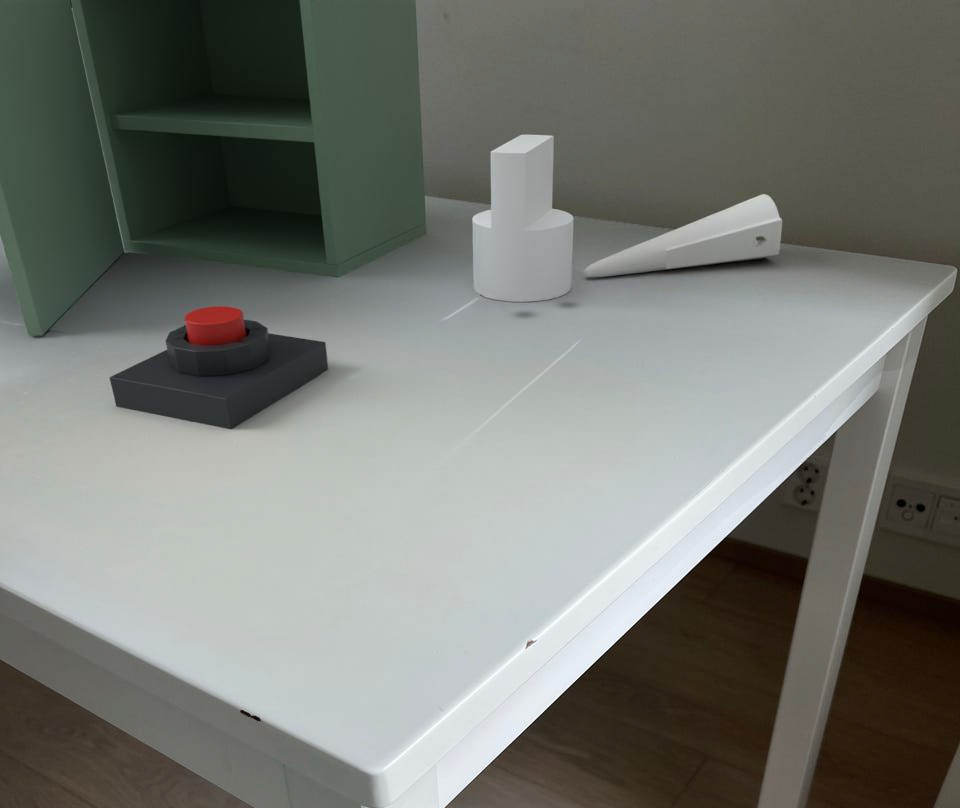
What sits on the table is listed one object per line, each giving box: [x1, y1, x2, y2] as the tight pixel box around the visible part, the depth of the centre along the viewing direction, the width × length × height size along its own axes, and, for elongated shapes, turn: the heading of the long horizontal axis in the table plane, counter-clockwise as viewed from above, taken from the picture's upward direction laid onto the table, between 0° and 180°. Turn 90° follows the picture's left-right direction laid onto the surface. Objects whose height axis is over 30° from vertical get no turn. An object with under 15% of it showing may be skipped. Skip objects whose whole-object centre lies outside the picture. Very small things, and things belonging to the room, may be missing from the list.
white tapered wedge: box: [583, 193, 783, 278], centre depth 96 cm, size 6×6×19 cm
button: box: [184, 305, 246, 345], centre depth 70 cm, size 4×4×2 cm
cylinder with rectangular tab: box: [471, 134, 575, 303], centre depth 89 cm, size 9×9×12 cm
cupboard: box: [70, 0, 427, 278], centre depth 100 cm, size 18×26×24 cm
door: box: [0, 0, 125, 337], centre depth 86 cm, size 7×26×24 cm, turn 2°
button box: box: [109, 319, 329, 430], centre depth 72 cm, size 12×10×4 cm
